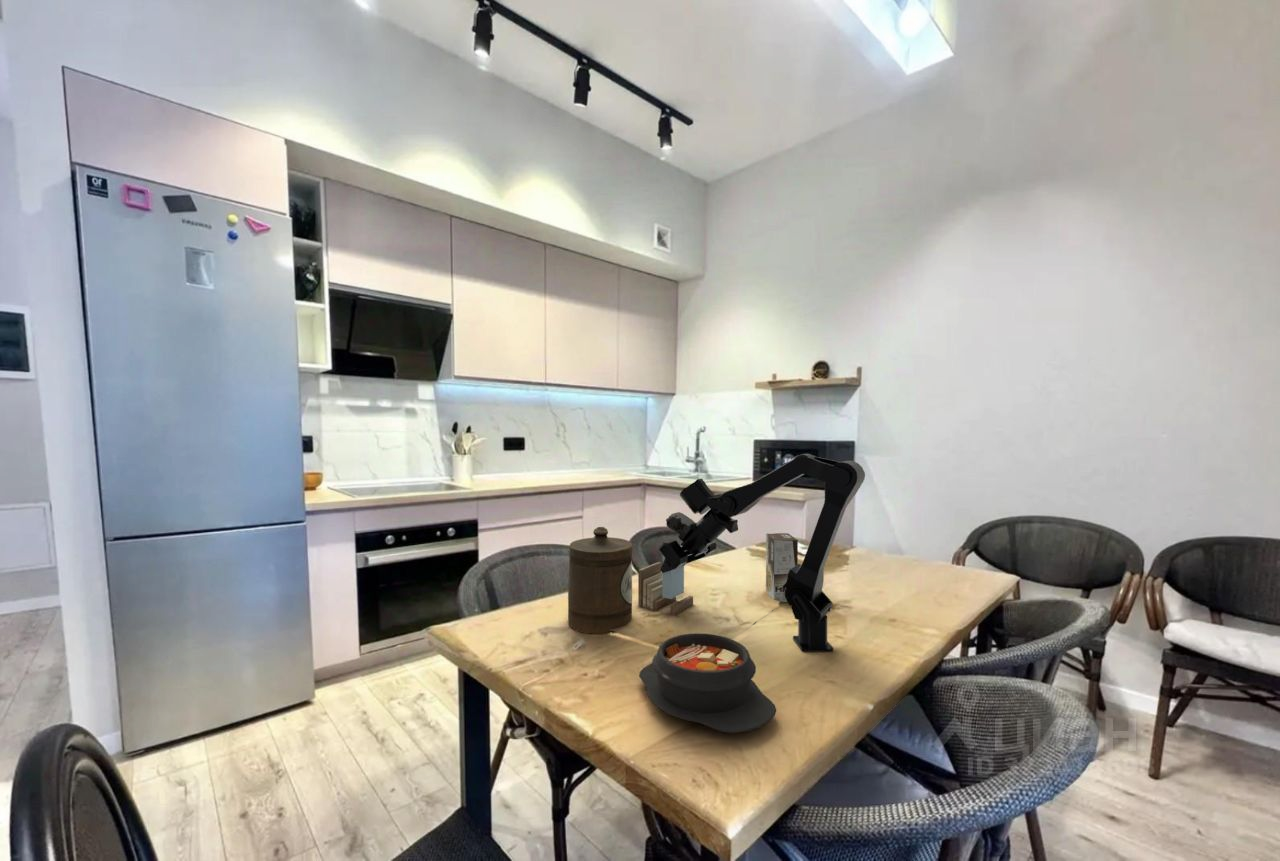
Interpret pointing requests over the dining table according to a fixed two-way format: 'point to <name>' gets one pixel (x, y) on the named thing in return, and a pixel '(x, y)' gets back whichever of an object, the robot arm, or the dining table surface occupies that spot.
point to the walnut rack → (658, 592)
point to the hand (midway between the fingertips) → (668, 568)
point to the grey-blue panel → (672, 582)
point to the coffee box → (779, 562)
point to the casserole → (707, 683)
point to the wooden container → (600, 583)
